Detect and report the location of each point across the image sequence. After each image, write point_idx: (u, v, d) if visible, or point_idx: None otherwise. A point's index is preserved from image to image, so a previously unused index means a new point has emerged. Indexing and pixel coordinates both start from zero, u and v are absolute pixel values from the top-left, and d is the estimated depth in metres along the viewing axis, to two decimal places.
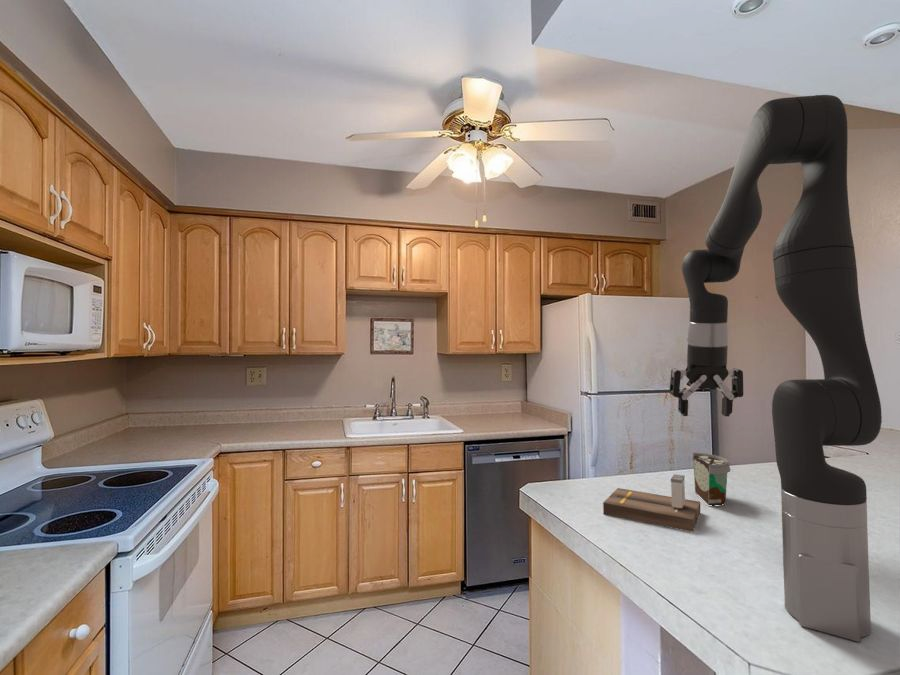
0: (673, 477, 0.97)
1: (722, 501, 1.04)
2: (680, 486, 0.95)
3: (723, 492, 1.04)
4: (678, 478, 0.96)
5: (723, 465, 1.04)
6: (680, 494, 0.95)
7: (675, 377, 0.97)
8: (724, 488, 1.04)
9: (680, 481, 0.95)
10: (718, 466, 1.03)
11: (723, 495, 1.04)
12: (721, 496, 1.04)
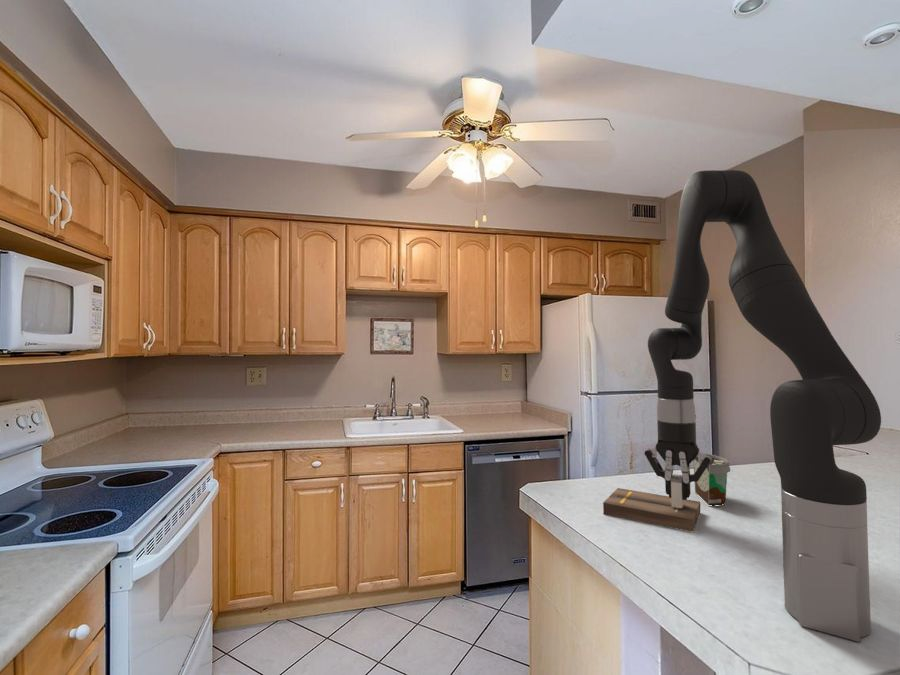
0: (673, 477, 0.97)
1: (722, 501, 1.04)
2: (680, 486, 0.95)
3: (723, 492, 1.04)
4: (678, 478, 0.96)
5: (723, 465, 1.04)
6: (680, 494, 0.95)
7: (647, 458, 1.00)
8: (724, 488, 1.04)
9: (680, 481, 0.95)
10: (718, 466, 1.03)
11: (723, 495, 1.04)
12: (721, 496, 1.04)
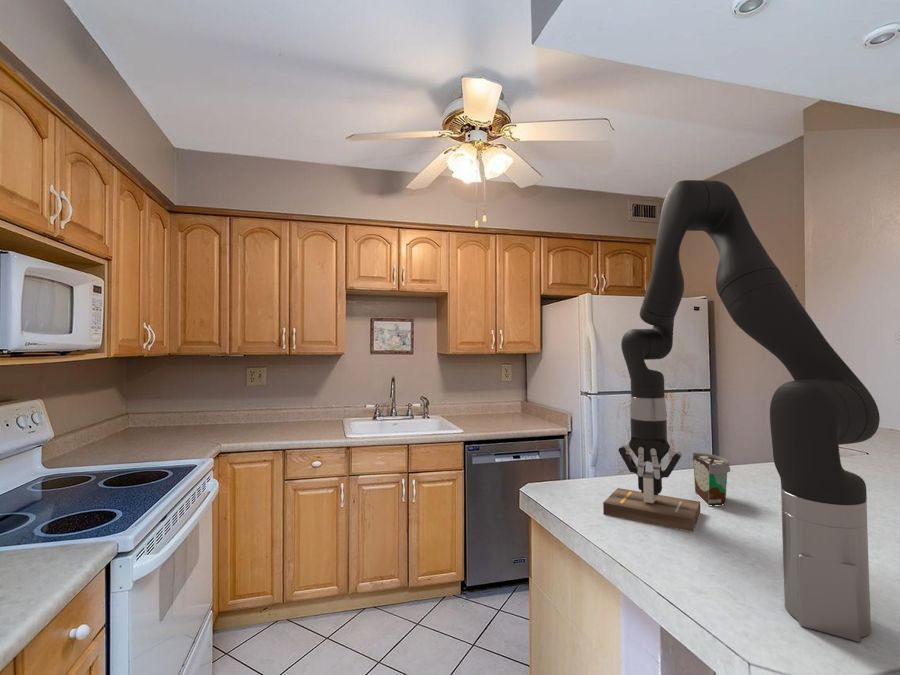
0: (645, 473, 1.01)
1: (722, 501, 1.04)
2: (651, 482, 0.99)
3: (723, 492, 1.04)
4: (650, 474, 1.00)
5: (723, 465, 1.04)
6: (651, 489, 0.99)
7: (621, 455, 1.03)
8: (724, 488, 1.04)
9: (651, 477, 0.99)
10: (718, 466, 1.03)
11: (723, 495, 1.04)
12: (721, 496, 1.04)
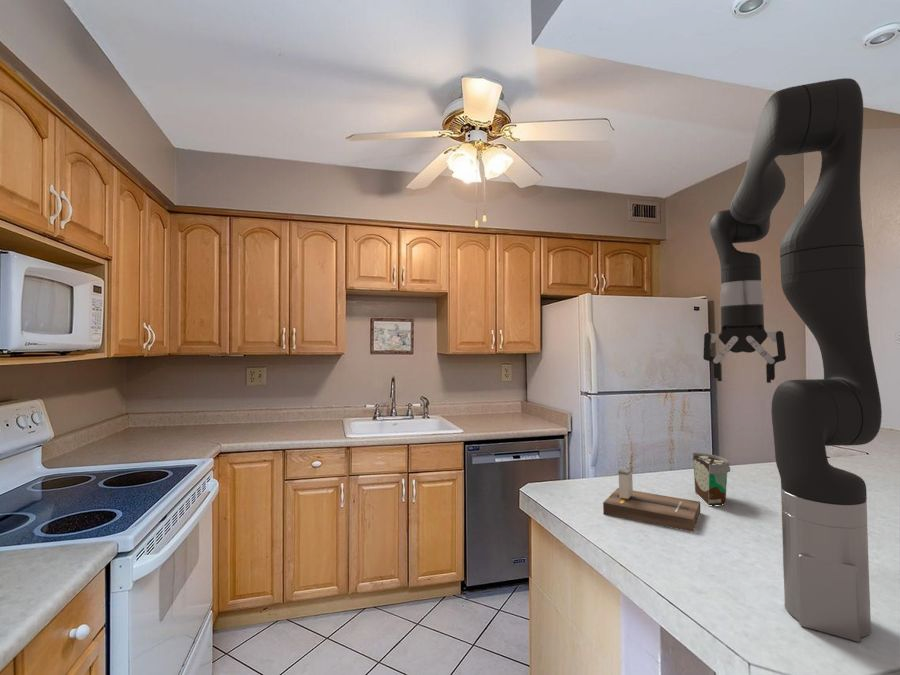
0: (621, 469, 1.04)
1: (722, 501, 1.04)
2: (626, 478, 1.02)
3: (723, 492, 1.04)
4: (625, 470, 1.03)
5: (723, 465, 1.04)
6: (626, 485, 1.02)
7: (705, 340, 0.96)
8: (724, 488, 1.04)
9: (626, 473, 1.02)
10: (718, 466, 1.03)
11: (723, 495, 1.04)
12: (721, 496, 1.04)
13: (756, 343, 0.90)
